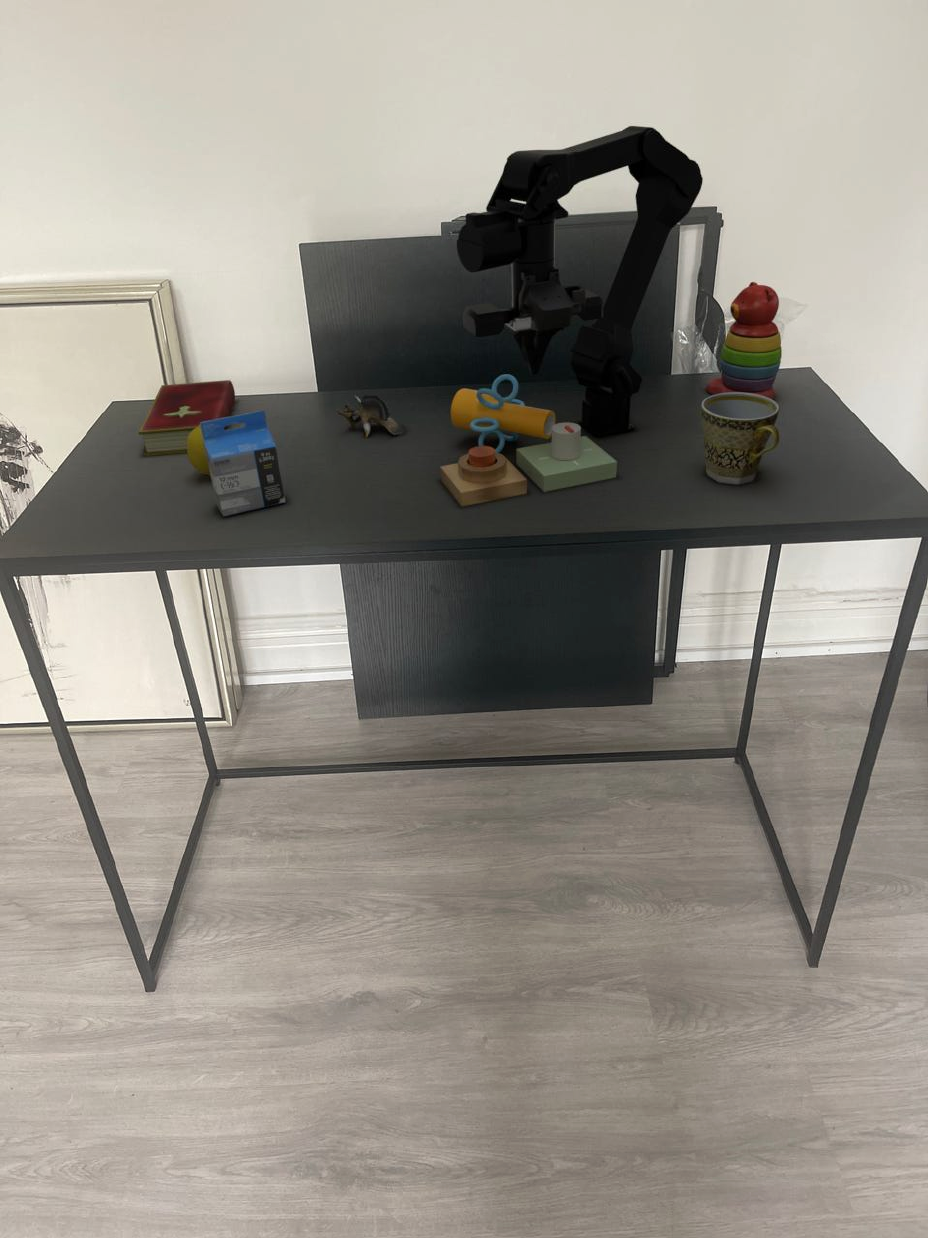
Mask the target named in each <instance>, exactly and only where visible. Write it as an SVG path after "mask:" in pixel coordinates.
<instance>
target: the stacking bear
mask: <svg viewBox="0 0 928 1238" xmlns="http://www.w3.org/2000/svg"><path fill="white" fill-rule="evenodd" d="M779 307H780V299H779V295H778V294H777V291H775V289H774V288H772V287H771V286H769V285H765V284H758V283H757V282H756V281H751V282H749V285H748V286H747V287H745V288H743V289H742V290H741V291H740V292H739V293H738V295H737V296H736V297H735V298H734V299H733V301H732V302H731V304H730V308H729V311H730V314H731V317H732V318H733V319H734V322H732V324H731V325H730V326H729V330H728V331H727V334H726V336H725V339H724V343H723V345H722V348H721V351H720V359H719V360H720V363H719V364H720V371H721V372H720V373H721V377H718V378H717V377H716V378H714V379H711V380H709V382H708V383H707V384H706V391H707V393H708V394H711V395H716V394H721V393H729V392H743V393H752V394H757V395H761V396H765V397H767V398H770V399H772V400H773V399H774V398H775V389H774V383H775V380H776V378H777V374H778V373H779V370H780V366H781V363H782V356H783V355H782V353H783V351H782V350H783V349H782V337H781V336H782V335H781V332H780V330H779V328H778V326H777V324H776V323H775V322H773V321H774V320H775V318H776V316H777V313H778V310H779Z"/></svg>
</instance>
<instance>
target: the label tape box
mask: <svg viewBox="0 0 928 1238" xmlns="http://www.w3.org/2000/svg"><path fill="white" fill-rule="evenodd" d="M233 423H236V424H237V425H238V424H244V426H240V427H236V428H235V427H234V428H229V429H226V430H224V427H225V426H227V427H228V426H231V425H232V424H233ZM200 426H201V431H202V435H203V444H204V449H205V453H206V457H207V461H208V466H209V470H210V474H211V476H210V478H211V483H212V488H213V492H214V497H215V501H216V504H217V508H218V510H219V511H220V513H221V515H222V517H228V516H232V515H237V514H240V513H245V512H250V511H253V510H258V509H262V508H266V507H267V508H268V507H271V506H276V505H279V504H284V503H286V495H285V489H284V483H283V479H282V473H281V467H280V461H279V456H278V449H277V446H276V444H275V441H274V439H273V436H272V434H271V432H270V428H269V427H268V424H267V417H266V411H265V410H258V411H252V412H247V413H242V414H237V415H232V416H231V415H230V417H225V418H220V419H215V420H210V421H205V422H200Z"/></svg>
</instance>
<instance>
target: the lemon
mask: <svg viewBox="0 0 928 1238" xmlns="http://www.w3.org/2000/svg"><path fill="white" fill-rule="evenodd" d="M186 454H187V457H188V460H189V462H190V464H191V465H192V467H193V468H194V469H195V470H196V471H198V472H199V473H201V474H205V475H207V476H209V477H211V474H210V470H209V466H208V461H207V457H206V453H205V449H204V444H203V435H202V431H201V426H200V425H199V426H198V427H197V428H195V429H194V430H192V432H191V433H190V434H189V436H188V439H187V453H186Z"/></svg>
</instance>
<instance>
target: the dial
mask: <svg viewBox="0 0 928 1238" xmlns="http://www.w3.org/2000/svg"><path fill="white" fill-rule="evenodd" d="M581 433H582V427H581V426H580V424H577V423H575V422H569V421H567V422H558V423H555V425H554V426H552V435H551V442H552V457H554V458H555V459H559V460H573V459H576V458H578V457H579V456H580V438H581V437H582V436H581Z"/></svg>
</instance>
